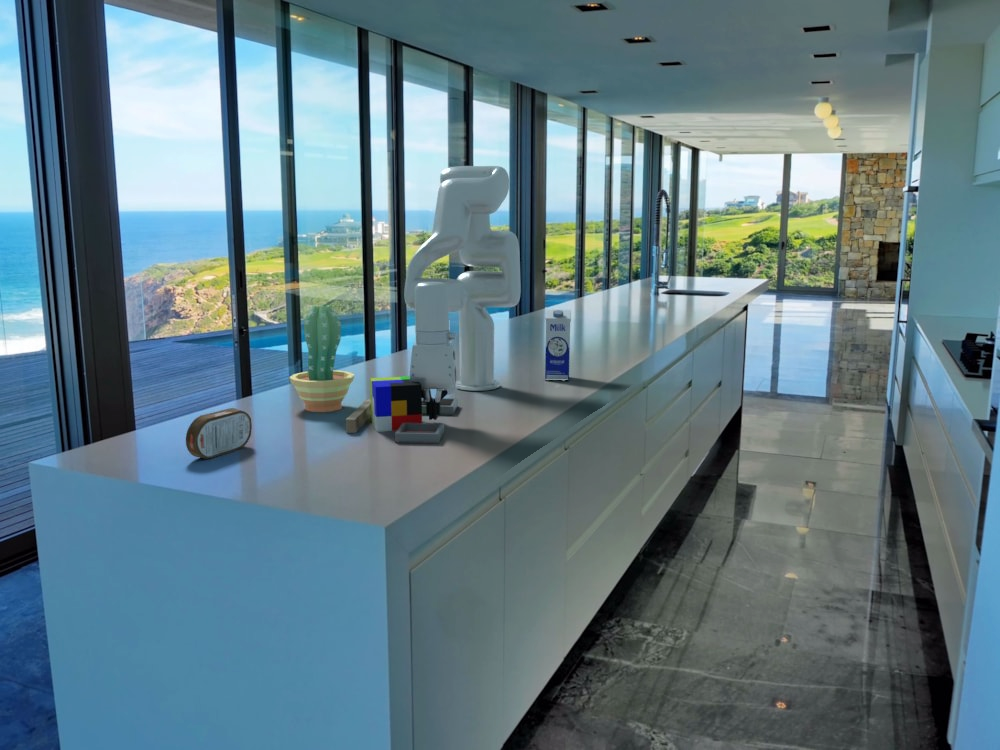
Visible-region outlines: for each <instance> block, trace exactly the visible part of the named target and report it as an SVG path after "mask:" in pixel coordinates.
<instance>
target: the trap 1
mask: <svg viewBox="0 0 1000 750" xmlns="http://www.w3.org/2000/svg"><path fill="white" fill-rule="evenodd" d="M444 434H445V423H443V422H435V423H434V422H433V423H432V422H422V423H402V425H401V426H400V427H399V429H398V430H395V432H394V439H395V440H394V443H397V444H435V445H437V444H439V443H440V441H441V440H442V438H443V436H444Z"/></svg>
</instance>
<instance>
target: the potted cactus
mask: <svg viewBox="0 0 1000 750" xmlns="http://www.w3.org/2000/svg"><path fill="white" fill-rule="evenodd" d="M303 329H304V339H305V343H306V345H307V349H308V350H307V371H302V372H298V373H294V374H292V375H291V376H289V377H288V378H289V380H290V384H292V385H293V386H294V388H295V389H294V390H296V393H297V396H298V397H299V398H300V400H301V401H302V402H303V404H305V405H304V410H306V411H307V412H311V413H313V412H314V413H326V412H328V413H329V412H335V411H339V410H341V409H342V408H343V404H342V402H343V401H344V399H345V397H346V396H347V394H348V392H349V389H350V385H351V384H352V382H354V380H355V374H354V373H352V372H350V371H345V370H339V369H338V370H334V369H335V359H336V355H337V351H338V348H339V345H340V342H341V339H342V338H341V335H342V332H341V331H342V323H341V320H340V319H339V317H338V316H337V314H336V313H335V311H334V310H333V308H332V305H329V304H328V305H326V306H324V305H323V304H319V306H318V305H313V306H312V307H311V309H310V310H309V311H308V313H307V315H306V316H305V318H304V321H303Z"/></svg>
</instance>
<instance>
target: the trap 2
mask: <svg viewBox="0 0 1000 750" xmlns="http://www.w3.org/2000/svg"><path fill="white" fill-rule="evenodd" d="M432 398H433V401H434V399H435V397H432ZM458 400H459V399H458V397H457V398H453V397H452V398H450V397H448V398H447V397H444V398H443V399H442V400H441V401H440V415H439V416H442V415H443V416H454V415H455V412H456V410H457V409H458V406H459V404H458V403H459V402H458ZM422 415H427V414H426V402H425V400H424V399H423V398H422Z"/></svg>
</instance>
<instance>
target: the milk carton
mask: <svg viewBox="0 0 1000 750" xmlns="http://www.w3.org/2000/svg"><path fill="white" fill-rule="evenodd" d="M571 323H572V310H571V309H553V308H552V309H550V308H549V309H548V308H547V309H546V311H545V352H544V353H545V359H544V361H545V364H544V370H545V371H544V372H545V373H544V380H545V379H569V380H570V361H571V360H570V357H571V356H570V353H571V351H570V350H571Z"/></svg>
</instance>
